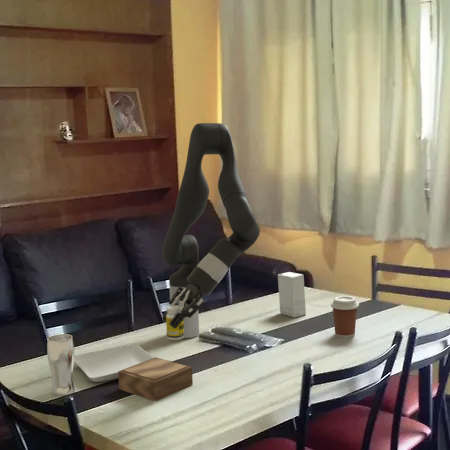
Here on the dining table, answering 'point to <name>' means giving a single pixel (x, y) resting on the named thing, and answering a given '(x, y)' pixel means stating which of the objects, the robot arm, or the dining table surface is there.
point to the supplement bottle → (171, 332)
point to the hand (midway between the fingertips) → (168, 323)
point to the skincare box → (291, 294)
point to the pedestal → (155, 378)
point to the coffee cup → (344, 315)
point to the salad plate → (110, 361)
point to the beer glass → (61, 363)
